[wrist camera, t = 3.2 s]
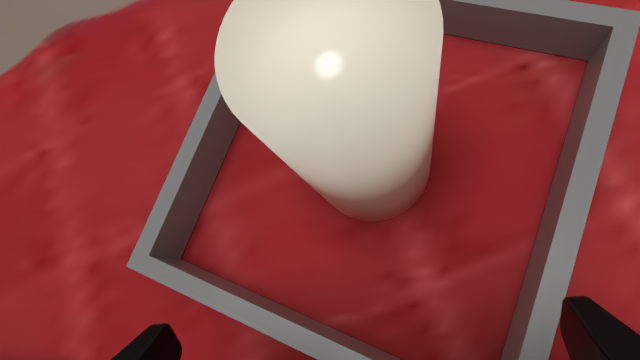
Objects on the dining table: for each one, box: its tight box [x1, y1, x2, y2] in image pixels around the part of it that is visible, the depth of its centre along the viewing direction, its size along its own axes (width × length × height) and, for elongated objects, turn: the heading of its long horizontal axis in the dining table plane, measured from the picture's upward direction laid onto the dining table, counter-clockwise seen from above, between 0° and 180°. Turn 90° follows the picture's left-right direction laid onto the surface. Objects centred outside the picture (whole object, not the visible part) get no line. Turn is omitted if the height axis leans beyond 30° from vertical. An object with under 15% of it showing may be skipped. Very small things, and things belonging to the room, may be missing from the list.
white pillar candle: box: [215, 0, 443, 222], centre depth 17 cm, size 6×6×12 cm
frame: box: [127, 0, 640, 360], centre depth 21 cm, size 20×20×3 cm
